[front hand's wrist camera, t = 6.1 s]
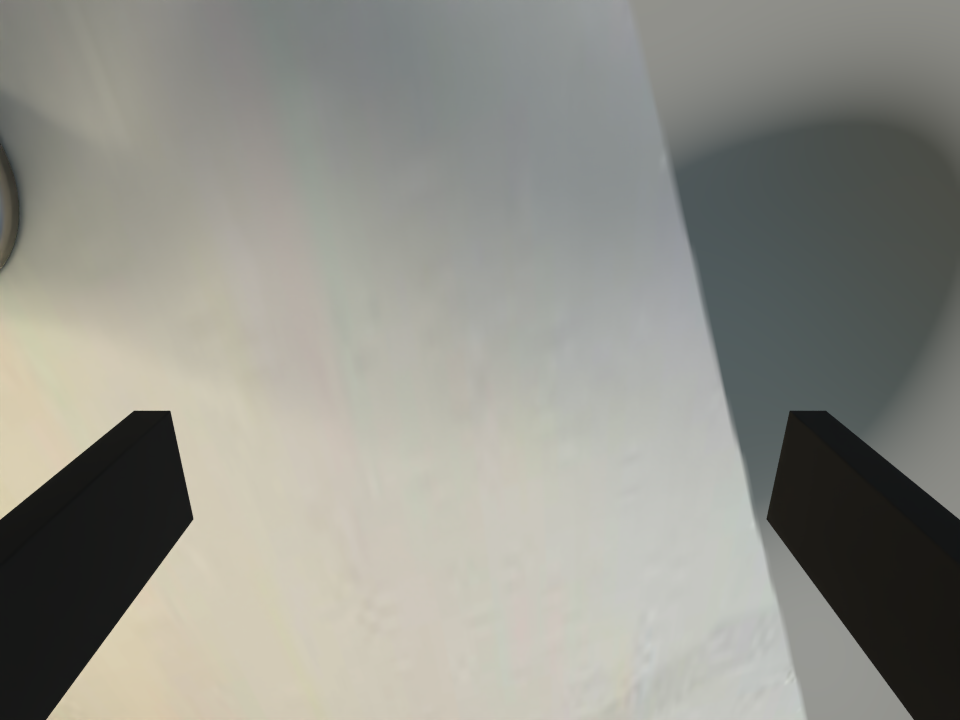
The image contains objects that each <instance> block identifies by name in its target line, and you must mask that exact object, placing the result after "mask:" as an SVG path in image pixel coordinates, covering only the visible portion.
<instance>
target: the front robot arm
mask: <svg viewBox="0 0 960 720" xmlns="http://www.w3.org/2000/svg"><path fill="white" fill-rule="evenodd" d="M18 225H19V200H18V194H17V187H16V183H15V179H14V175H13V172H12V169H11V166H10V163H9V161H8V159H7V156H6V154H5V152H4V149H3V147H2V146H1V144H0V269H1V268H2V266H3V265H4V264H5V262H6V261H7V259H8V257H9V255H10V253H11V251H12V249H13V246H14V243H15V240H16V236H17V231H18ZM192 520H193V515H192V510H191V505H190V501H189V496H188V491H187V487H186V482H185V477H184V473H183V468H182V463H181V459H180V454H179V449H178V445H177V440H176V435H175V431H174V426H173V421H172V417H171V412H170V411H133V412H132V413H131V414H130V415H128V416H127V417H126V418H125V419H123V420H122V421H121V422H120V423H119V424H117V425H116V426H115V427H114V428H112V429H111V430H110V431H109V432H108V433H106V434H105V435H104V436H103V437H101V438H100V439H99V440H98V441H96V442H95V443H94V444H93V445H92V446H90V447H89V448H88V449H87V450H85V451H84V452H83V453H82V454H80V455H79V456H78V457H77V458H76V459H74V460H73V461H72V462H71V463H69V464H68V465H67V466H66V467H65V468H63V469H62V470H61V471H60V472H58V473H57V474H56V475H55V476H53V477H52V478H51V479H50V480H49V481H47V482H46V483H45V484H44V485H42V486H41V487H40V488H39V489H38V490H36V491H35V492H34V493H33V494H31V495H30V496H29V497H28V498H26V499H25V500H24V501H23V502H22V503H20V504H19V505H18V506H17V507H15V508H14V509H13V510H12V511H11V512H9V513H8V514H7V515H6V516H4V517H3V518H2V519H1V520H0V720H46V719H47V718H48V716H49V715H50V714H51V712H52V711H53V710H54V708H55V707H56V705H57V704H58V703H59V701H60V700H61V699H62V697H63V696H64V695H65V693H66V692H67V690H68V689H69V688H70V686H71V685H72V684H73V682H74V681H75V680H76V678H77V677H78V676H79V674H80V673H81V671H82V670H83V669H84V667H85V666H86V665H87V663H88V662H89V661H90V659H91V658H92V656H93V655H94V654H95V652H96V651H97V650H98V648H99V647H100V646H101V644H102V643H103V641H104V640H105V639H106V637H107V636H108V635H109V633H110V632H111V631H112V629H113V628H114V627H115V625H116V624H117V622H118V621H119V620H120V618H121V617H122V616H123V614H124V613H125V612H126V610H127V609H128V607H129V606H130V605H131V603H132V602H133V601H134V599H135V598H136V597H137V595H138V594H139V592H140V591H141V590H142V588H143V587H144V586H145V584H146V583H147V582H148V580H149V579H150V578H151V576H152V575H153V573H154V572H155V571H156V569H157V568H158V567H159V565H160V564H161V563H162V561H163V560H164V558H165V557H166V556H167V554H168V553H169V552H170V550H171V549H172V548H173V546H174V545H175V544H176V542H177V541H178V539H179V538H180V537H181V535H182V534H183V533H184V531H185V530H186V529H187V527H188V526H189V524H190V523H191V522H192ZM767 520H768V522H769V523H770V524H771V526H772V527H773V529H774V530H775V531H776V533H777V534H778V535H779V537H780V538H781V539H782V541H783V542H784V544H785V545H786V546H787V547H788V549H789V550H790V552H791V553H792V554H793V556H794V557H795V558H796V560H797V561H798V563H799V564H800V565H801V567H802V568H803V569H804V571H805V572H806V573H807V575H808V576H809V578H810V579H811V580H812V582H813V583H814V584H815V586H816V587H817V588H818V590H819V591H820V592H821V594H822V595H823V597H824V598H825V599H826V601H827V602H828V603H829V605H830V606H831V607H832V609H833V610H834V612H835V613H836V614H837V616H838V617H839V618H840V620H841V621H842V622H843V624H844V625H845V627H846V628H847V629H848V630H849V632H850V633H851V635H852V636H853V637H854V639H855V640H856V641H857V643H858V644H859V646H860V647H861V648H862V650H863V651H864V652H865V654H866V655H867V656H868V658H869V659H870V660H871V662H872V663H873V664H874V666H875V667H876V669H877V670H878V671H879V673H880V674H881V676H882V677H883V678H884V679H885V681H886V682H887V684H888V685H889V686H890V688H891V689H892V690H893V692H894V693H895V695H896V696H897V697H898V699H899V700H900V701H901V703H902V704H903V705H904V707H905V708H906V710H907V711H908V712H909V713H910V715H911V716H912V718H913V719H914V720H960V520H959V519H958V518H957V517H955V516H954V515H953V514H952V513H951V512H949V511H948V510H947V509H946V508H945V507H943V506H942V505H941V504H940V503H938V502H937V501H936V500H935V499H934V498H932V497H931V496H930V495H929V494H927V493H926V492H925V491H924V490H922V489H921V488H920V487H919V486H918V485H916V484H915V483H914V482H913V481H911V480H910V479H909V478H908V477H907V476H905V475H904V474H903V473H902V472H900V471H899V470H898V469H897V468H895V467H894V466H893V465H892V464H891V463H889V462H888V461H887V460H886V459H884V458H883V457H882V456H881V455H879V454H878V453H877V452H876V451H875V450H873V449H872V448H871V447H870V446H868V445H867V444H866V443H865V442H864V441H862V440H861V439H860V438H859V437H857V436H856V435H855V434H854V433H852V432H851V431H850V430H849V429H848V428H846V427H845V426H844V425H843V424H841V423H840V422H839V421H838V420H837V419H835V418H834V417H833V416H832V415H830V414H829V413H828V412H827V411H790V412H789V417H788V421H787V426H786V431H785V435H784V440H783V445H782V449H781V454H780V459H779V463H778V468H777V473H776V477H775V482H774V487H773V491H772V496H771V501H770V505H769V510H768V515H767Z"/></svg>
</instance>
